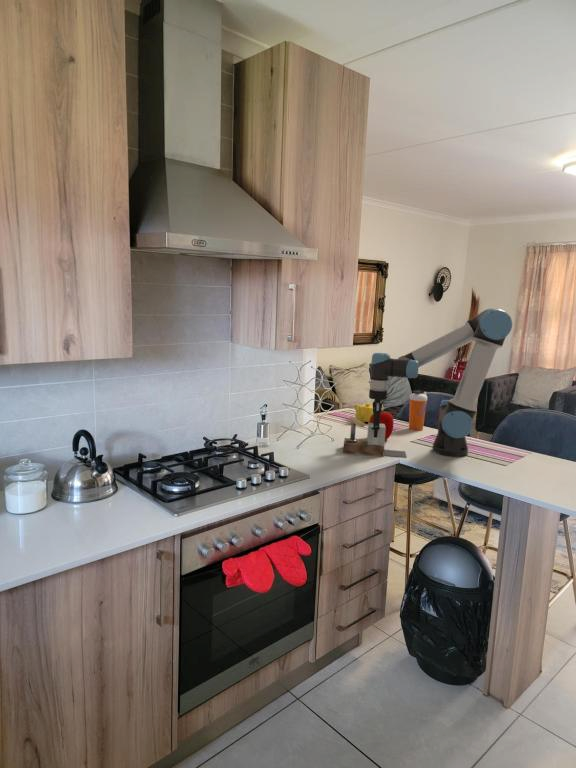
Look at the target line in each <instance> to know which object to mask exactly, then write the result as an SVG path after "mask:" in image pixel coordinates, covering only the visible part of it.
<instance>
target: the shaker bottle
mask: <svg viewBox="0 0 576 768" xmlns="http://www.w3.org/2000/svg"><path fill="white" fill-rule="evenodd" d="M412 392H413V393H411V394H410V395H409V415H408V419H409V420H408V421H409V422H408V429H409V430H411V431H415V432H416V431H417V432H419V431H423V430H424V424H425V418H426V417H425V415H426V408H427V403H428V402H427V401H428V396H427V391H424V390H421V389H420V390H413V391H412Z"/></svg>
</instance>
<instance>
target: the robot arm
mask: <svg viewBox="0 0 576 768" xmlns="http://www.w3.org/2000/svg"><path fill="white" fill-rule="evenodd" d="M512 328H513V321H512V317H511V316H510V314H508V313H507V311H505V310H503V309H500V308H488V309H485V310H483V311H482V312H480V313H479V314H477V315H475V316H474V317H472V318H471V319H468V320H466V321H465V324H464V325H462V326H460V327H457V328H456V329H454V330H453V331H450V332H448V333H447V334H444V335H442V336H440V337H438V338H436V339H434V340H433V341H429V342H428V343H426V344H425V345H422V346H420V347H418V348H417V349H415V350H412V351H410V352H409V353H407V354H405V355H401V356H399V357H397V358H391V354H390V353H386V352H374V353H373V354H372V355H371V364H370V380H369V381H368V384H369V388H370V389H369V391H368V398H369V399H371V400H373V401H372V405H373V420H372V421H373V428H371V429H372V430H373V432H372V444H373V445H378V439H379V429H380V427H379V426H380V414H381V411H382V409H383V408H382V407H383V402H382V401H385V400H387V398H388V391H387V390H388V389H389V377H391V378H392V377H395V378H397V377H398V378H405V379H416V378H417V377H418V376H419V375H418V374H419V368H420V367H423V366H424V365H427V364H429V363H430V362H432V361H435V360H437V359H438V358H441V357H443V356H445V355H447V354H449V353H451V352H453V351H456V350H457V349H460V348H462V347H464V346H465V345H467V344H469V343H471V342H474V344H473V348H472V350H471V352H470V355H469V358H468V360H467V363H466V366H465V369H464V371H463V373H462V376H461V378H460V381H459V384H458V387H457V388H456V392H455V395H454V397H453V398H451V399H449V400H448V399H442V400H441V401H440V404H439V416H438V428H437V434H436V437H435V438H434V441H433V443H432V448H431V450H432V451H433V452H434V453H436V454H439V455H443V456H449V457H464V456H467V455H469V454H468V453H469V447H468V442H467V438H466V437H467V436H469V434H471V431H472V430H473V425H474V419H475V416H476V414H477V411H478V409H477V407H476V403H477V400H478V398H479V396H480V393H481V390H482V388H483V386H484V382H485V380H486V377H487V375H488V372H489V369H490V368H491V365H492V362H493V360H494V357H495V355H496V353H497V350H498V349H500V348H503V345H504V343H505V340H506V338H507V336H508V335H509V334H510V333H511V331H512ZM381 408H382V409H381Z"/></svg>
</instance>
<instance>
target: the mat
mask: <svg viewBox="0 0 576 768" xmlns="http://www.w3.org/2000/svg"><path fill="white" fill-rule="evenodd" d="M384 456H385V457H392V458H403V459H407V457H408V456H407V453H406V451H405V450H395V449H394V450H392V449H384Z"/></svg>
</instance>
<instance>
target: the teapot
mask: <svg viewBox="0 0 576 768" xmlns="http://www.w3.org/2000/svg"><path fill="white" fill-rule="evenodd" d="M382 409H384V407H383V406H382V408H381V410H382ZM354 410H355V417H354V418H356V419H358V420H360V421H361V422H363V423H365V422H368V423H369V421H370V418H371V416H372V414H373V404H371V403H368V402H367V403H365V404H361V405H359V404H355V405H354ZM368 423H367V424H368Z"/></svg>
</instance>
